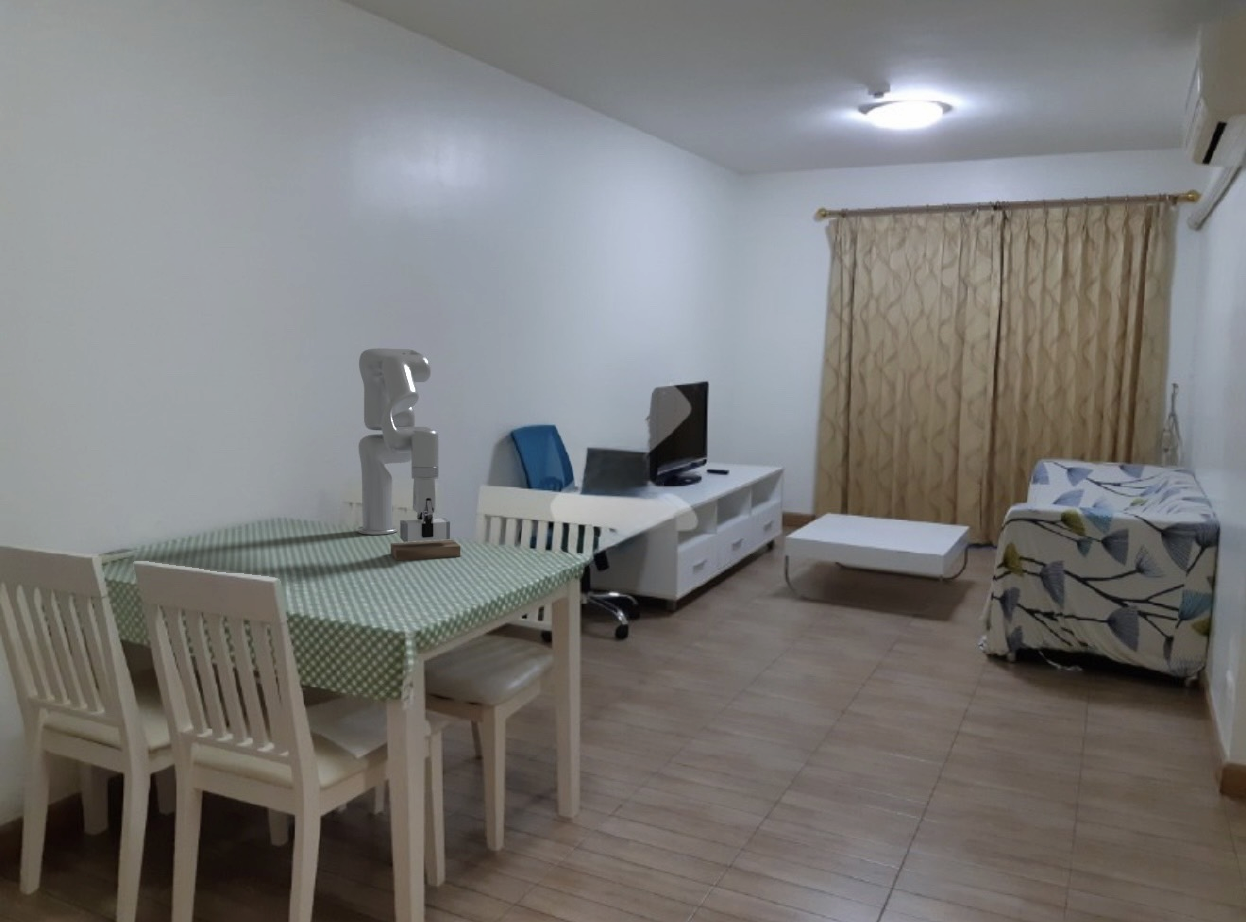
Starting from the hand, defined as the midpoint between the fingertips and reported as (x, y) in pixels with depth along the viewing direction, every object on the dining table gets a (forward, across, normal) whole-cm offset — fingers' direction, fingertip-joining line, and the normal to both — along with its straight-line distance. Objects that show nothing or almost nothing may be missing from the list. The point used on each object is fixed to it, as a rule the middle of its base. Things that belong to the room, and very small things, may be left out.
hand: (425, 534), depth 275 cm
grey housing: (+1, 0, 0) cm, 1 cm away
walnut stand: (+6, 0, 0) cm, 6 cm away
